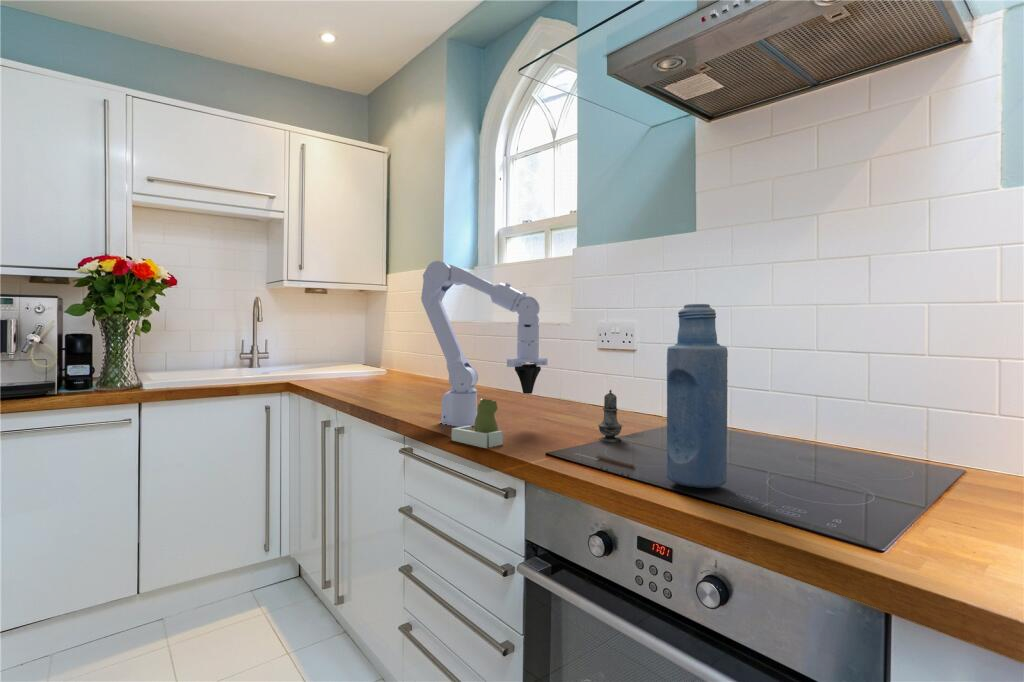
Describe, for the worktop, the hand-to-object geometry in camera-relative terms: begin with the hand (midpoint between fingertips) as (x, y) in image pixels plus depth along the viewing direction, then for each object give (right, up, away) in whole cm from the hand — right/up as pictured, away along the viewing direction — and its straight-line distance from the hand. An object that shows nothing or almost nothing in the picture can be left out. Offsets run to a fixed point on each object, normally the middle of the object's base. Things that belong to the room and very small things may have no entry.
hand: (527, 393), depth 141 cm
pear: (-10, -10, -17) cm, 22 cm away
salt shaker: (+19, -10, -14) cm, 26 cm away
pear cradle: (-12, -9, -20) cm, 25 cm away
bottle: (+27, -10, -51) cm, 58 cm away
